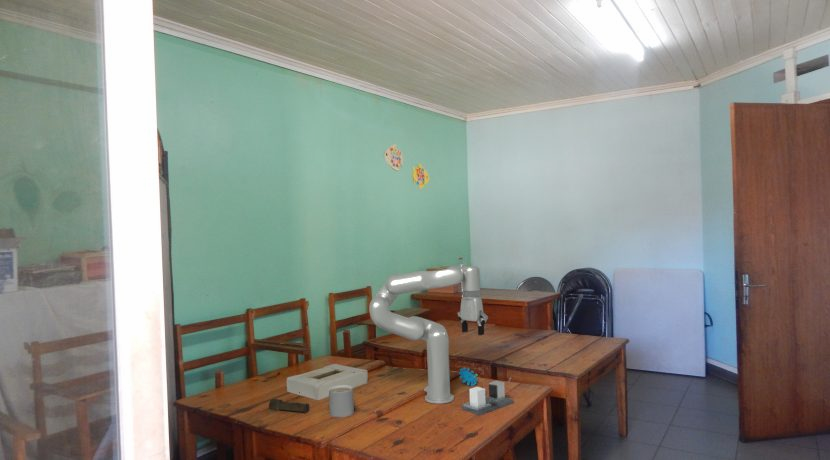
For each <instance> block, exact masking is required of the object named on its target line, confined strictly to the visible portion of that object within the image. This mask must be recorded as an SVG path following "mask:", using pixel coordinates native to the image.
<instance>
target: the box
mask: <svg viewBox="0 0 830 460" xmlns="http://www.w3.org/2000/svg"><path fill="white" fill-rule="evenodd" d="M368 374H369V373H368V370H367V369H363V368H357V367H352V366H346V365H341V364H338V363H333V364H329V365H326V366H324V367H321V368H318V369H315V370H311V371H308V372H304V373H301V374H295V375H292V376H288V377H287V378H286V392H288V393H291V394H295V395H298V396H302V397H306V398H309V399H311V400H317V401H320V400H323V399H325V398H329V389H330V388H331V387H334V386H339V385H348V386H352V387H353V389H354V388H357V387H359V386H363V385H365V384H368V380H369V379H368ZM299 392H300V393H299Z"/></svg>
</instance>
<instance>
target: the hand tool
mask: <svg viewBox="0 0 830 460" xmlns="http://www.w3.org/2000/svg"><path fill="white" fill-rule="evenodd" d="M268 409H270V410H272V411H276V412H279V411H289V412H298V413H304V415H305V414H307V413H309V411H310V404H309V403H308V402H306V403H303V402H302V403H300V402H291V401H290V402H288V401H283V399H277V398H272V399H270V400H269V403H268Z"/></svg>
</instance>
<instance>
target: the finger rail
mask: <svg viewBox="0 0 830 460" xmlns="http://www.w3.org/2000/svg"><path fill="white" fill-rule="evenodd" d="M505 390H506V389H505V382H504V381H501V380H493V381H491V382H489V383H488V396H486V405H483V406H480V407H475V406H472V405H470V401H467V402H464V403H463V405H461V410H463V411H464V412H468V413H471V414H473V415H477V416H482V415H485V414H487V413H491V412H493V411H496V410H499V409H501V408H504V407H506V406H509V405H512V404H514V398H510V397H506V394H505Z"/></svg>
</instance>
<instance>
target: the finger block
mask: <svg viewBox="0 0 830 460" xmlns="http://www.w3.org/2000/svg"><path fill="white" fill-rule="evenodd" d="M486 397H487V389H486V388H484V387H483V388H482V387H481V386H475V387H474V386H473V387H471V388H469V402H470V405H472V406H475V407H480V406H483V405H486Z"/></svg>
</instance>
